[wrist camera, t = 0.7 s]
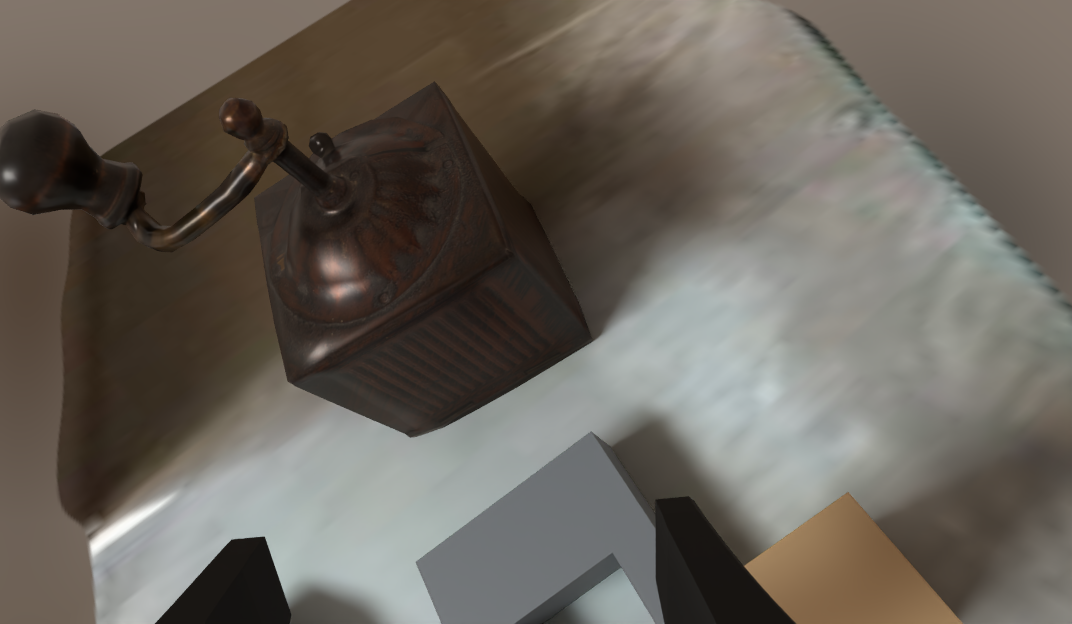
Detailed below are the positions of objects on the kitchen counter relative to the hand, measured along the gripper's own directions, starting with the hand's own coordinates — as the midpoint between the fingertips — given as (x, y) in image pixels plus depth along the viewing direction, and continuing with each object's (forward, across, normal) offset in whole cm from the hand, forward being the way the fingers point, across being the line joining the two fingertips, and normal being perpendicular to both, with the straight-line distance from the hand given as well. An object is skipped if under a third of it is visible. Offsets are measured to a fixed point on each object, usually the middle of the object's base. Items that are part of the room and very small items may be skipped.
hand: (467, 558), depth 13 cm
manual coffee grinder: (+23, +4, +7) cm, 24 cm away
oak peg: (+7, -11, +11) cm, 17 cm away
